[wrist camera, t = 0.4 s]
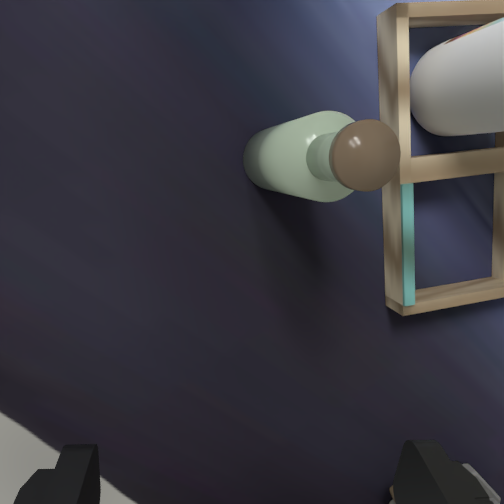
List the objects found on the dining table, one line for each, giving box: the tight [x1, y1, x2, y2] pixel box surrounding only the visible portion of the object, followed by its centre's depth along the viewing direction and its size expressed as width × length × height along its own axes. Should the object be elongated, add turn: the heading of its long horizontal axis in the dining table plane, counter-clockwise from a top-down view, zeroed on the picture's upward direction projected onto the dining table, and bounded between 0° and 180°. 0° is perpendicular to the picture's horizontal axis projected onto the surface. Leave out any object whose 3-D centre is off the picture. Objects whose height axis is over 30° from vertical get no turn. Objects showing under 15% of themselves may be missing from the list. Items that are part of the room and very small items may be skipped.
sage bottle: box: [243, 111, 401, 202], centre depth 28 cm, size 5×5×17 cm
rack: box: [377, 0, 504, 316], centre depth 37 cm, size 25×12×3 cm, turn 6°
